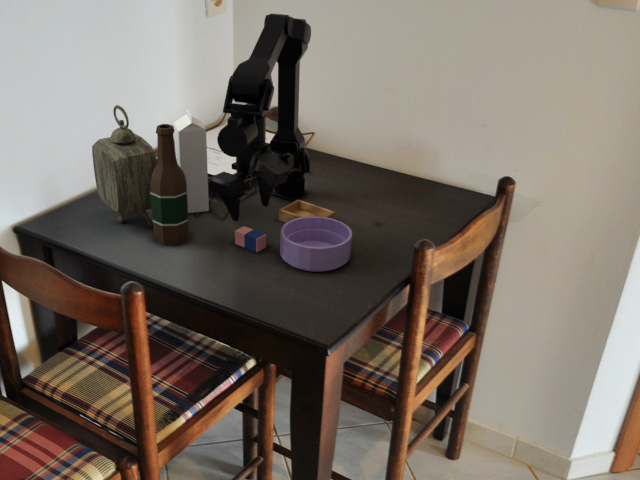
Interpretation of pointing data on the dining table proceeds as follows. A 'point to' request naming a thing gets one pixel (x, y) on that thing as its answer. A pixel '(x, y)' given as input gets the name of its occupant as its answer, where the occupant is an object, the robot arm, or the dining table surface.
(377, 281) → the dining table surface
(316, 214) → the tray
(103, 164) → the tabletop clock
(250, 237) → the eraser
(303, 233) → the bowl
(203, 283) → the dining table surface
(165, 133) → the beer bottle
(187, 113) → the milk
